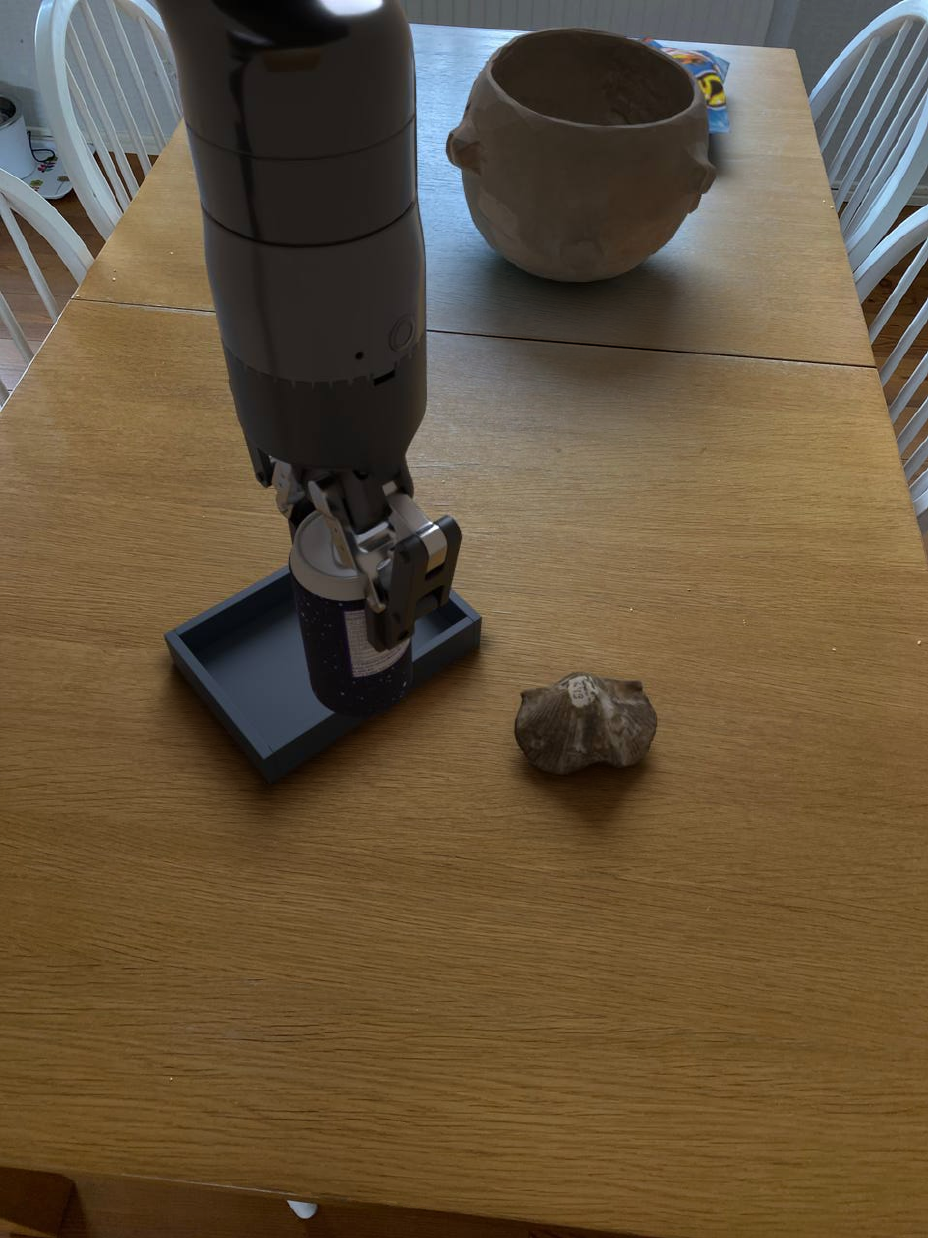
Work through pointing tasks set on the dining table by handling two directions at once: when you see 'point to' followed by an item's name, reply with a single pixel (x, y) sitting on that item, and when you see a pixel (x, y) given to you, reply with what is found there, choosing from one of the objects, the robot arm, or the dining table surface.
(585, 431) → the dining table surface
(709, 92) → the packet
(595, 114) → the bowl
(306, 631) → the beverage can
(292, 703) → the dark blue tray
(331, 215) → the robot arm
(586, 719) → the fossilized seashell
